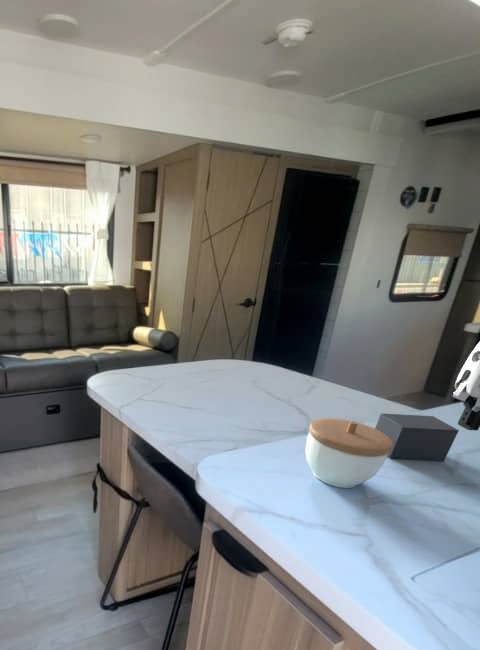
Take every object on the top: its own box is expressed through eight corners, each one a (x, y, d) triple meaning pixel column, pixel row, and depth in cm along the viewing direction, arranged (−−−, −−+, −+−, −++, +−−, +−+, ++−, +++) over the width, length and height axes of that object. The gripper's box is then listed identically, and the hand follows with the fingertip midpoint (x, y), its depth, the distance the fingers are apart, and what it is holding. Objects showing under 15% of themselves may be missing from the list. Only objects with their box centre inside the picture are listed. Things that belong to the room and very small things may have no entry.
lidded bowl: (391, 490, 71) (416, 434, 66) (337, 502, 67) (360, 443, 62) (331, 456, 81) (349, 405, 77) (282, 464, 77) (297, 411, 72)
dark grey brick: (419, 445, 88) (432, 416, 85) (444, 461, 82) (459, 430, 79) (369, 442, 88) (380, 413, 85) (389, 458, 82) (402, 427, 79)
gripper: (489, 339, 71) (444, 433, 79) (574, 344, 71) (520, 438, 79) (455, 330, 77) (417, 417, 85) (533, 335, 78) (487, 422, 85)
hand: (467, 427), depth 82 cm, fingers closed
